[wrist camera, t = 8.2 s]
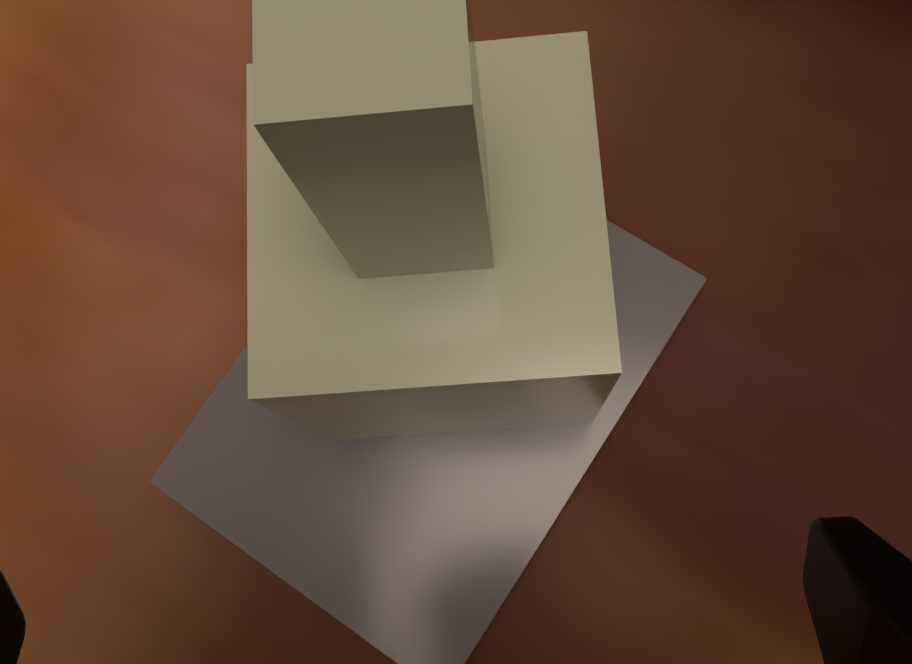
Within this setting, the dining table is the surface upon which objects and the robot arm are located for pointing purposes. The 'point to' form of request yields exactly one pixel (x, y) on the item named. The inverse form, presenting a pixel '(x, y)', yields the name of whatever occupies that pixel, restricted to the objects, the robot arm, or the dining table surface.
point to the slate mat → (412, 489)
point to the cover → (423, 223)
